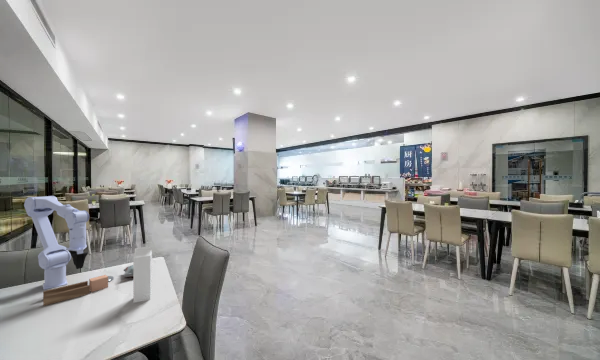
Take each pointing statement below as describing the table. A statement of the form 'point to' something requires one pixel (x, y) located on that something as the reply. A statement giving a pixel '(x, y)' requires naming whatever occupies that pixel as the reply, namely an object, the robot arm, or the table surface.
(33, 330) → the table surface
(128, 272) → the packaged food
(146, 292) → the milk
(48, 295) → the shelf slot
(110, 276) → the coaster
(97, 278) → the block
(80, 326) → the table surface
